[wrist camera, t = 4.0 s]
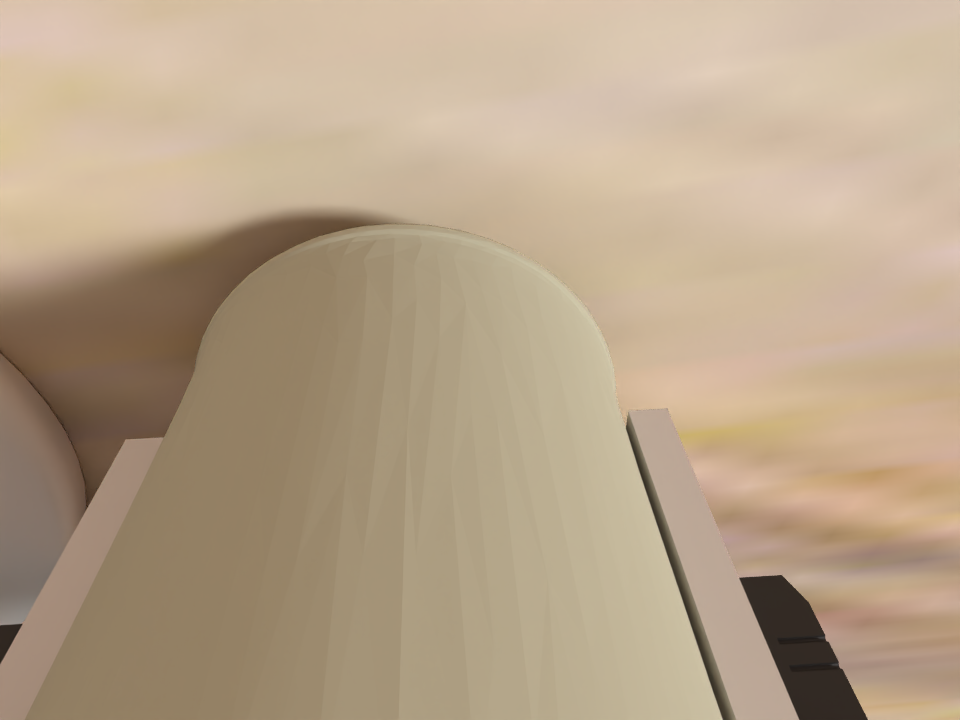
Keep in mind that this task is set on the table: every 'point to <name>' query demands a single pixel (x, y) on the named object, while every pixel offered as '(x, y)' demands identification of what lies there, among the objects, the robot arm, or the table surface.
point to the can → (389, 511)
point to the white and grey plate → (32, 493)
